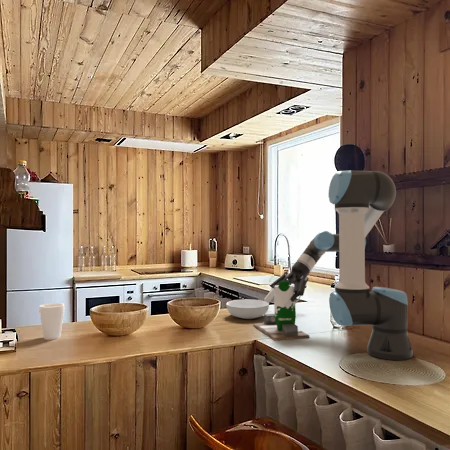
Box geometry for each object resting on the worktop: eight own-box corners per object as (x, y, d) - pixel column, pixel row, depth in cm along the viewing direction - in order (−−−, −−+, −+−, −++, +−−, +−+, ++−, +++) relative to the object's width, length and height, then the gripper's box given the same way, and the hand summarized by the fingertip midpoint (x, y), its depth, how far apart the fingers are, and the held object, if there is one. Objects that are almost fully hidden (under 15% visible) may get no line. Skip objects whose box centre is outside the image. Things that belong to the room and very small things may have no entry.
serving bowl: (219, 314, 225) (219, 301, 225) (256, 311, 233) (256, 298, 233) (237, 323, 206) (237, 308, 206) (277, 319, 215) (277, 305, 215)
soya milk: (275, 330, 185) (273, 281, 186) (275, 327, 194) (273, 280, 195) (296, 330, 184) (294, 280, 185) (296, 326, 193) (293, 279, 194)
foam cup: (55, 341, 175) (55, 307, 175) (34, 340, 177) (34, 306, 177) (69, 335, 184) (69, 303, 184) (48, 334, 186) (48, 302, 186)
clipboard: (309, 337, 181) (309, 325, 181) (274, 340, 177) (274, 327, 177) (284, 323, 205) (284, 313, 205) (253, 325, 201) (253, 314, 201)
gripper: (327, 275, 188) (299, 314, 180) (289, 269, 209) (263, 304, 202) (318, 263, 185) (289, 302, 178) (280, 258, 206) (253, 294, 199)
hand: (275, 304), depth 190 cm, fingers open, 13 cm apart
